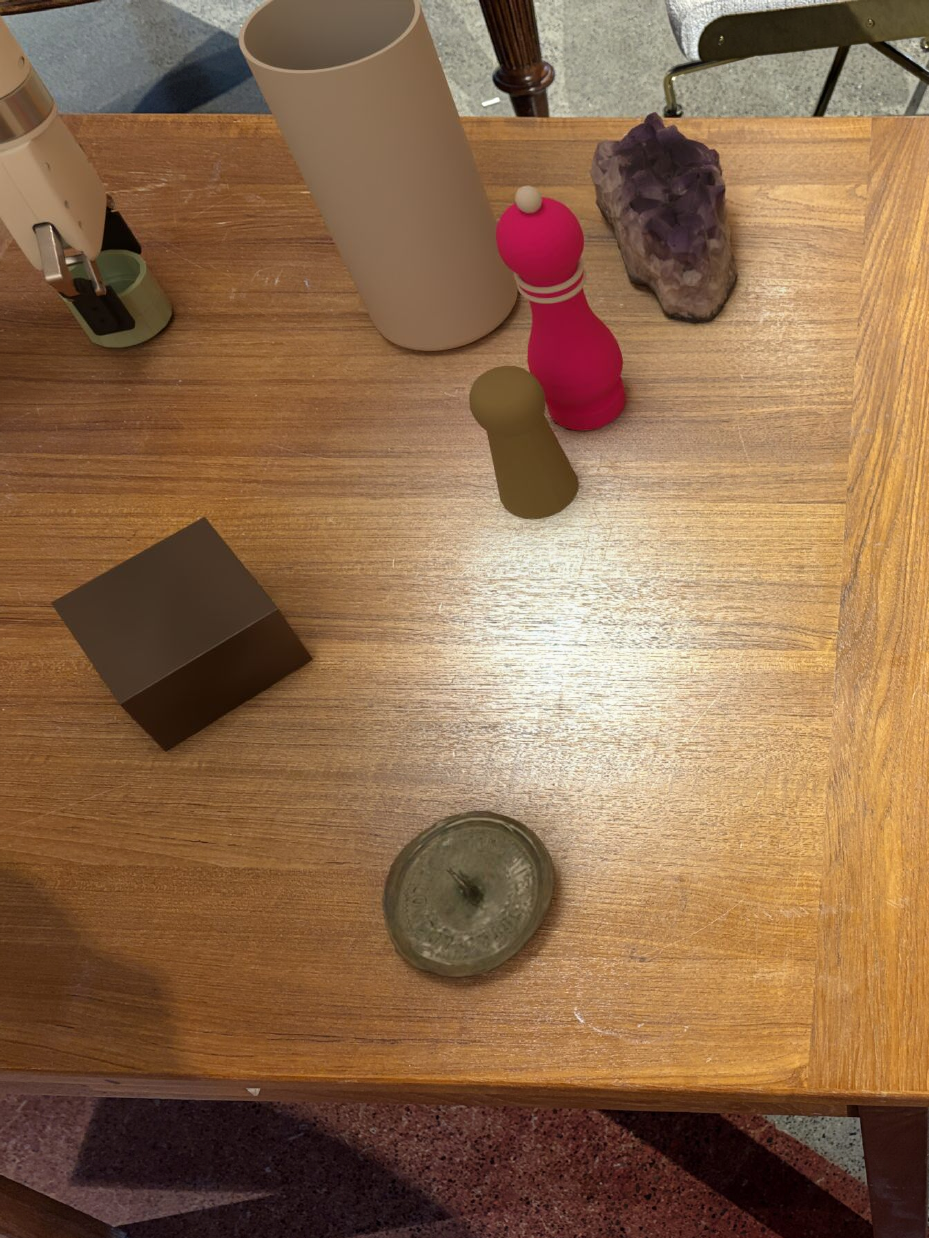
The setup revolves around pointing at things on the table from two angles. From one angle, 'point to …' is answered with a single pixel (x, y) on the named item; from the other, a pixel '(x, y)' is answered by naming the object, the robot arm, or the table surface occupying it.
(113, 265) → the bowl
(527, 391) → the brown peg doll
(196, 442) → the table surface
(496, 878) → the lid
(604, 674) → the table surface
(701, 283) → the geode
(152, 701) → the stand
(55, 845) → the table surface
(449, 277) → the cylinder vase
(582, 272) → the pepper mill
